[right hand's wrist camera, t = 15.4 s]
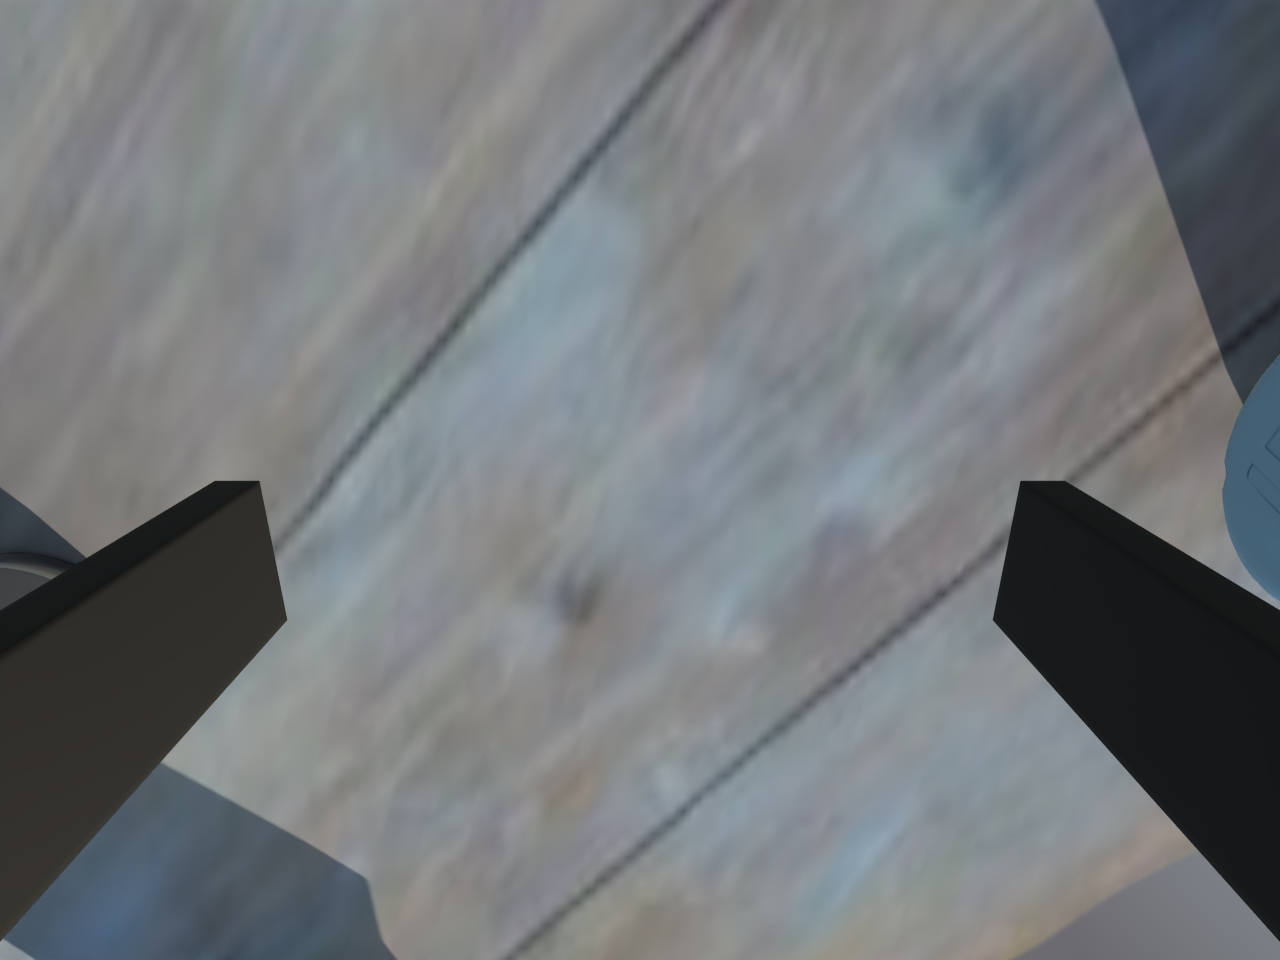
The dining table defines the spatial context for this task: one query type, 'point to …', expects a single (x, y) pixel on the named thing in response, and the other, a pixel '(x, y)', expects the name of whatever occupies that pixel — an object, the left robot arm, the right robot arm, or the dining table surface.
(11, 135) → the dining table surface
